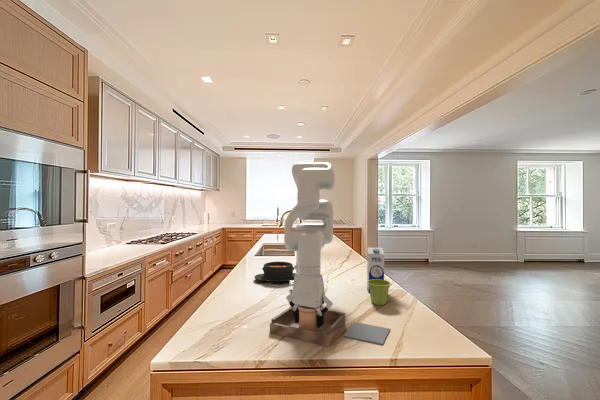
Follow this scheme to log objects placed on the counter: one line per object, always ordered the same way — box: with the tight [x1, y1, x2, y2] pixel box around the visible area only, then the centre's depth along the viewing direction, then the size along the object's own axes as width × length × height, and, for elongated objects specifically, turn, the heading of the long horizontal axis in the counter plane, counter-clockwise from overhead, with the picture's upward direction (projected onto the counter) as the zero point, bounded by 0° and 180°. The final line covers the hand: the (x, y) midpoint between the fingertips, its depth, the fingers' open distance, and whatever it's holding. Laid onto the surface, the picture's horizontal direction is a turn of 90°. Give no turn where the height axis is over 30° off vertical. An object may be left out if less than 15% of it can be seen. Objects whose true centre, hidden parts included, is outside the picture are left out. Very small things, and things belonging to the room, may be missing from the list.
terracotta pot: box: [298, 305, 319, 332], centre depth 103 cm, size 7×7×8 cm
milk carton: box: [366, 247, 385, 294], centre depth 146 cm, size 7×7×20 cm
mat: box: [343, 321, 391, 346], centre depth 100 cm, size 12×12×1 cm
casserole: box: [254, 261, 296, 284], centre depth 164 cm, size 25×19×8 cm
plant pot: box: [366, 279, 392, 306], centre depth 129 cm, size 9×9×9 cm
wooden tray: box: [269, 306, 346, 347], centre depth 103 cm, size 20×16×4 cm
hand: (308, 323), depth 103 cm, fingers open, 7 cm apart
